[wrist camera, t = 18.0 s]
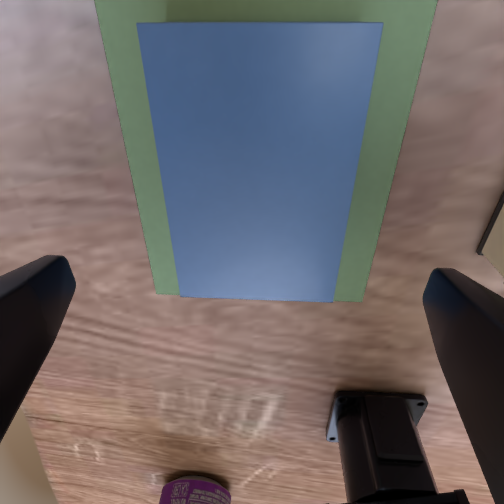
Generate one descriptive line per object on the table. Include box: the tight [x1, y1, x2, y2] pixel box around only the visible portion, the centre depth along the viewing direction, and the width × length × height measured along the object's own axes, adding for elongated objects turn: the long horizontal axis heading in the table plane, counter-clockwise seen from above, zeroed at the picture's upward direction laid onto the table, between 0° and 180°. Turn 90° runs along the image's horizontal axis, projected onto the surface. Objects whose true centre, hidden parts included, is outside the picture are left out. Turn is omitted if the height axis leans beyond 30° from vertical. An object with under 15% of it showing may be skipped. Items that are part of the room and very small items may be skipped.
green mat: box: [94, 0, 438, 302], centre depth 15 cm, size 16×12×1 cm
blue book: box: [136, 22, 384, 302], centre depth 14 cm, size 10×7×3 cm, turn 0°
